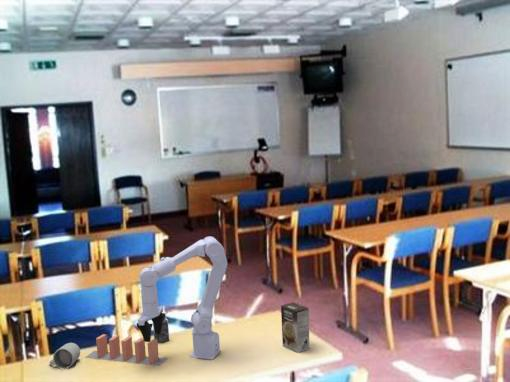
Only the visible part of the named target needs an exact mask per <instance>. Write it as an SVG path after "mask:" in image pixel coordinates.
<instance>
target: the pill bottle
mask: <svg viewBox="0 0 510 382" xmlns="http://www.w3.org/2000/svg"><path fill="white" fill-rule="evenodd" d="M152 329H153V339H157V341H158V344H166V343H168V342H169V341H170V330H169V320H168V318H166V317H165V318H164V321H163V324H162V330H161V334H155V331H154V326H153V325H152Z"/></svg>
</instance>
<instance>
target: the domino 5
mask: <svg viewBox="0 0 510 382" xmlns="http://www.w3.org/2000/svg"><path fill="white" fill-rule="evenodd" d="M158 344H159V343H158V341H157V339H154V338H153V339H152V340H150V342H147V354H148V355H147V356H148V358H149V363H150V364H153V363H154V362H156V361H157V360H158V359H159V358H160V354H159V345H158Z"/></svg>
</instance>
